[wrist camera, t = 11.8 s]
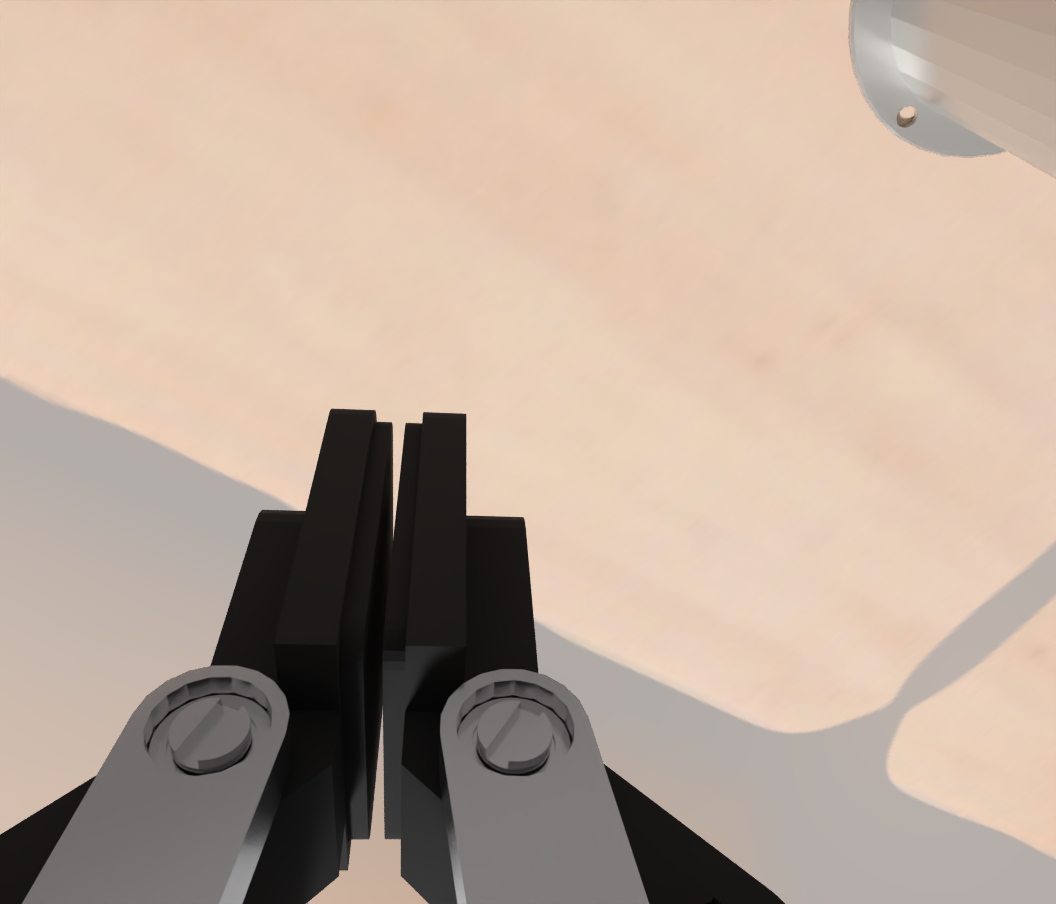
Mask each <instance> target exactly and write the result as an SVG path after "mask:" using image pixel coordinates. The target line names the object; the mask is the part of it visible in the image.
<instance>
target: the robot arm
mask: <svg viewBox="0 0 1056 904" xmlns="http://www.w3.org/2000/svg"><path fill="white" fill-rule="evenodd" d="M848 39H849V49H850V56H851V62H852V68H853V72H854V75H855V78H856V80H857V83H858V86H859V88H860V91H861V93H862V96H863V98H864V100H865V101H866V103H867V104H868V106H869V107H870V109H871V110H872V112H873V113H874V115H875V116H876V117H877V119H878V120H879V121H880V122H881V123H882V124H883V125H884V126H885V127H886V128H887V129H888V130H889V131H890V132H892V133H893V134H894V135H896V136H897V137H898V138H900V139H902V140H904V141H905V142H907V143H909V144H911V145H913V146H914V147H916V148H918V149H920V150H924V151H927V152H931V153H934V154H937V155H941V156H947V157H962V158H974V157H982V156H990V155H997V154H1001V153H1004V152H1009V153H1011V154H1013V155H1014V156H1016V157H1018V158H1020V159H1021V160H1023V161H1025V162H1027V163H1029V164H1030V165H1032V166H1034V167H1036V168H1037V169H1039V170H1041V171H1043V172H1045V173H1046V174H1048V175H1050V176H1052V177H1053V178H1055V179H1056V0H851V2H850V9H849V35H848ZM907 106H912V107H913V108H914V110H915V112H914V117H913V119H912V121H911V122H910V123H908V124H907V125H904V126H899V125H898V123H897V115H898V113H899V112H900V110H902V109H903V108H904V107H907ZM382 709H383V744H384V814H385V815H384V816H385V817H384V819H385V820H384V822H385V839H401V876H402V877H403V878H404V879H405V880H406V881H407V882H408V883H409V884H410V885H411V886H412V887H413V888H414V889H415V890H416V891H417V892H418V893H419V894H420V895H421V896H422V897H423V898H424V899H425V900H426V901H427V902H428V903H429V904H785V903H784V902H783V901H782V900H781V899H780V898H779V897H778V896H777V895H775V894H774V893H773V892H772V891H771V890H769V889H768V888H767V887H765V886H764V885H763V884H761V883H760V882H759V881H757V880H756V879H755V878H754V877H752V876H751V875H749V874H748V873H747V872H746V871H744V870H743V869H742V868H740V867H739V866H738V865H736V864H735V863H734V862H732V861H731V860H730V859H729V858H727V857H726V856H725V855H723V854H722V853H721V852H719V851H718V850H717V849H715V848H714V847H713V846H711V845H710V844H709V843H707V842H706V841H705V840H703V839H702V838H701V837H700V836H698V835H697V834H695V833H694V832H693V831H692V830H690V829H689V828H688V827H686V826H685V825H684V824H682V823H681V822H680V821H678V820H677V819H676V818H674V817H673V816H672V815H671V814H669V813H668V812H667V811H665V810H664V809H662V808H661V807H660V806H659V805H657V804H656V803H655V802H653V801H652V800H651V799H649V798H648V797H647V796H645V795H644V794H643V793H642V792H640V791H639V790H638V789H636V788H635V787H634V786H632V785H631V784H630V783H628V782H627V781H626V780H624V779H623V778H622V777H620V776H619V775H618V774H616V773H615V772H614V771H613V770H611V769H610V768H608V767H607V766H606V765H605V764H603V761H602V758H601V755H600V751H599V748H598V745H597V742H596V739H595V736H594V733H593V730H592V727H591V724H590V721H589V718H588V716H587V714H586V712H585V710H584V708H583V706H582V704H581V703H580V701H579V699H578V698H577V697H576V696H575V695H573V693H571V692H570V691H569V690H568V689H567V688H566V687H565V686H564V685H563V684H561V683H559V682H557V681H555V680H553V679H552V678H550V677H548V676H546V675H543V674H539V673H538V664H537V653H536V641H535V629H534V618H533V607H532V595H531V584H530V572H529V561H528V549H527V538H526V527H525V520H524V518H523V517H495V516H466V414H456V413H430V412H423V422H422V424H420V423H406V425H405V434H404V443H403V453H402V462H401V472H400V481H399V491H398V500H397V510H396V519H395V529H394V538H393V426H392V422H377V419H376V411H375V410H353V409H331V410H330V413H329V417H328V421H327V425H326V429H325V433H324V437H323V441H322V446H321V450H320V454H319V458H318V462H317V466H316V470H315V474H314V479H313V483H312V487H311V491H310V495H309V499H308V503H307V508H306V511H284V510H262V511H261V512H260V513H259V515H258V517H257V519H256V522H255V525H254V528H253V532H252V535H251V538H250V541H249V544H248V548H247V551H246V554H245V558H244V560H243V564H242V567H241V570H240V573H239V576H238V580H237V583H236V586H235V589H234V592H233V596H232V599H231V602H230V605H229V608H228V612H227V615H226V618H225V621H224V625H223V628H222V631H221V634H220V637H219V641H218V644H217V647H216V650H215V653H214V656H213V660H212V663H211V666H209V667H204V668H200V669H195V670H190V671H188V672H185V673H183V674H181V675H179V676H177V677H175V678H172V679H170V680H168V681H166V682H165V683H163V684H162V685H161V686H159V687H158V688H157V689H155V690H154V691H153V692H151V693H150V694H149V695H147V696H146V697H145V699H144V700H143V701H142V703H141V704H140V705H139V706H138V707H137V709H136V710H135V711H134V713H133V714H132V716H131V717H130V719H129V721H128V722H127V724H126V726H125V728H124V729H123V731H122V733H121V735H120V736H119V738H118V740H117V741H116V743H115V745H114V747H113V748H112V750H111V752H110V753H109V755H108V757H107V758H106V760H105V762H104V764H103V765H102V767H101V769H100V770H99V772H98V774H97V775H96V776H95V777H93V778H92V779H90V780H88V781H87V782H85V783H84V784H82V785H80V786H78V787H77V788H75V789H74V790H72V791H70V792H69V793H67V794H66V795H64V796H62V797H61V798H59V799H58V800H56V801H54V802H53V803H51V804H49V805H48V806H46V807H44V808H43V809H41V810H40V811H38V812H36V813H35V814H33V815H31V816H30V817H28V818H27V819H25V820H23V821H22V822H20V823H19V824H17V825H15V826H14V827H12V828H10V829H9V830H7V831H5V832H4V833H2V834H1V835H0V904H308V901H310V900H311V899H312V898H313V897H314V896H316V895H317V894H318V893H319V892H321V891H322V890H323V889H324V888H325V887H326V886H328V885H329V884H330V883H331V882H332V881H334V880H335V879H336V878H337V877H338V876H339V870H348V864H349V854H350V847H351V839H369V838H370V831H371V822H372V811H373V801H374V791H375V781H376V770H377V760H378V750H379V739H380V728H381V719H382Z"/></svg>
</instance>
